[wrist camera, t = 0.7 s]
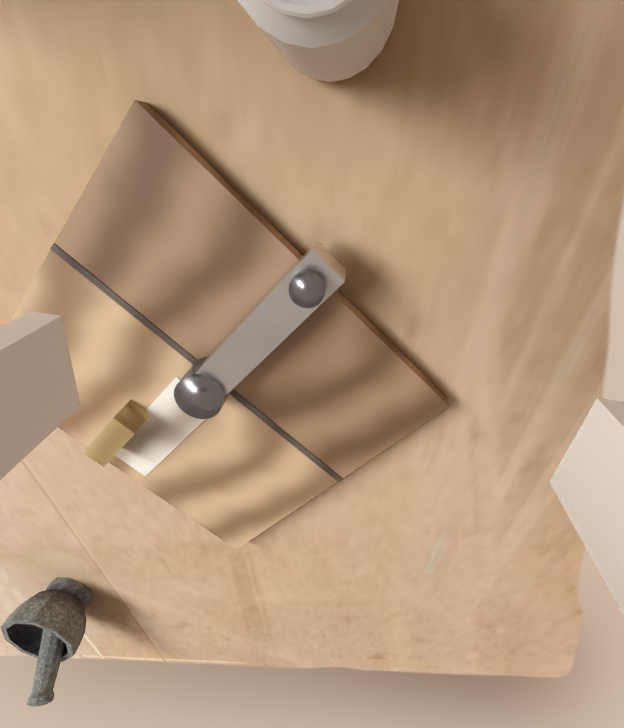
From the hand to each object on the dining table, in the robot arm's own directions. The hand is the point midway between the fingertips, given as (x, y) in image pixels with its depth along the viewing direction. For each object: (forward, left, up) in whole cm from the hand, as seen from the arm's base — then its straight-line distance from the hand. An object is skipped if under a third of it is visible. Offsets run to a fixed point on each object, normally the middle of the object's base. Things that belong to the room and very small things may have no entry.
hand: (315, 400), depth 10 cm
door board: (0, -19, -22) cm, 29 cm away
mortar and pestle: (+8, -64, -22) cm, 68 cm away
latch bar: (0, -10, -21) cm, 23 cm away
